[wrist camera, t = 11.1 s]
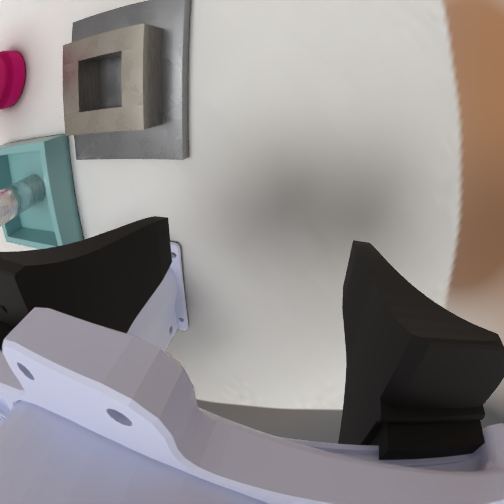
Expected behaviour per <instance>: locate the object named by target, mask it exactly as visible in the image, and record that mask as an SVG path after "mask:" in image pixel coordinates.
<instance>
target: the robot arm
mask: <svg viewBox="0 0 504 504" xmlns="http://www.w3.org/2000/svg"><path fill="white" fill-rule="evenodd" d="M172 252H174V253H175V254H176V256H175V255H174V254H173V253H172ZM342 309H343V320H344V331H345V343H346V361H347V367H346V383H345V395H344V405H343V415H342V421H341V429H340V436H339V442H338V444H334V443H323V442H313V441H304V440H296V439H289V438H282V437H276V436H273V435H270V434H267V433H264V432H261V431H258V430H255V429H252V428H249V427H247V426H244V425H241V424H238V423H236V422H233V421H231V420H228V419H225V418H223V417H220V416H218V415H215V414H213V413H210V412H208V411H206V410H203V409H201V408H199V407H198V405H197V402H196V397H195V391H194V386H193V384H192V383H191V381H190V379H189V377H188V375H187V374H186V372H185V370H184V368H183V366H182V365H181V364H180V363H179V362H178V361H176V360H175V359H174V358H173V357H172V356H170V355H169V354H168V353H167V352H166V351H165V350H166V349H167V347H168V345H169V343H170V342H171V340H172V338H173V336H174V335H175V333H176V331H177V330H182V331H186V330H187V329H188V318H187V310H186V301H185V293H184V283H183V274H182V263H181V253H180V246H179V245H178V244H177V243H175V242H170V235H169V224H168V218H165V217H156V216H154V217H149V218H145V219H142V220H139V221H136V222H133V223H130V224H127V225H125V226H122V227H119V228H117V229H114V230H111V231H108V232H106V233H103V234H100V235H97V236H94V237H91V238H88V239H85V240H81V241H78V242H74V243H70V244H66V245H61V246H56V247H51V248H46V249H39V250H30V251H19V252H0V504H504V423H501V424H494V425H491V426H488V427H486V428H484V429H483V430H482V427H481V422H480V420H482V419H483V418H484V416H485V412H484V408H483V404H484V403H485V402H486V400H487V399H488V398H489V397H490V396H491V394H492V393H493V392H494V391H495V389H496V388H497V387H498V385H499V384H500V382H501V381H502V379H503V378H504V346H503V344H502V342H501V339H500V337H499V336H498V334H496V333H494V332H491V331H488V330H486V329H484V328H481V327H479V326H476V325H474V324H472V323H470V322H468V321H466V320H464V319H462V318H460V317H458V316H456V315H455V314H453V313H451V312H449V311H448V310H446V309H444V308H443V307H441V306H440V305H438V304H437V303H435V302H433V301H432V300H431V299H429V298H428V297H426V296H425V295H424V294H423V293H421V292H420V291H419V290H417V289H416V288H415V287H414V286H412V285H411V284H410V283H409V282H408V281H407V280H406V279H405V278H404V277H403V276H401V275H400V274H399V273H398V272H397V271H396V270H395V269H394V268H393V267H392V266H391V265H390V264H389V263H388V262H387V261H386V259H385V258H384V257H383V256H382V255H381V254H380V253H379V252H378V251H377V250H376V249H375V248H374V247H373V246H372V245H371V244H370V243H367V242H360V241H353V244H352V249H351V254H350V258H349V263H348V268H347V272H346V277H345V281H344V285H343V307H342ZM182 318H183V319H182Z"/></svg>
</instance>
